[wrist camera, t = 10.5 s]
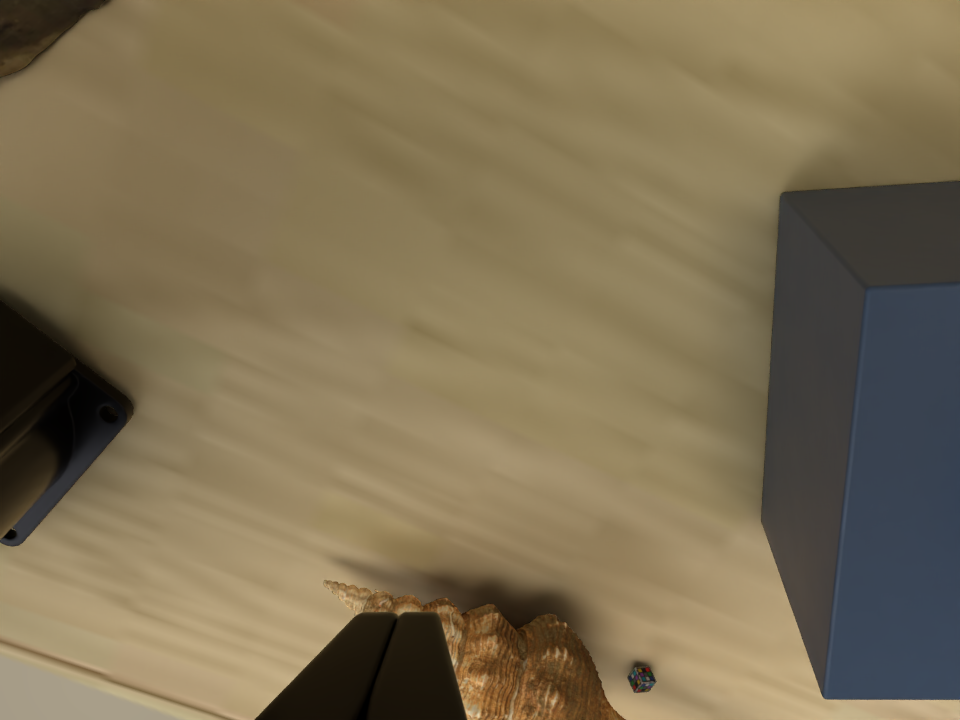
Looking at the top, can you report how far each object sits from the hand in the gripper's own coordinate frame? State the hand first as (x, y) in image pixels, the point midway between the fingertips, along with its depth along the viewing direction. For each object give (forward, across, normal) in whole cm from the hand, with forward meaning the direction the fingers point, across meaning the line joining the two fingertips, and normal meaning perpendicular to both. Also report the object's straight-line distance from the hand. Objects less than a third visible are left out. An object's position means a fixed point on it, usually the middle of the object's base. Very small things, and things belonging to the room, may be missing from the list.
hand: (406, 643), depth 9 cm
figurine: (+13, -1, +13) cm, 18 cm away
